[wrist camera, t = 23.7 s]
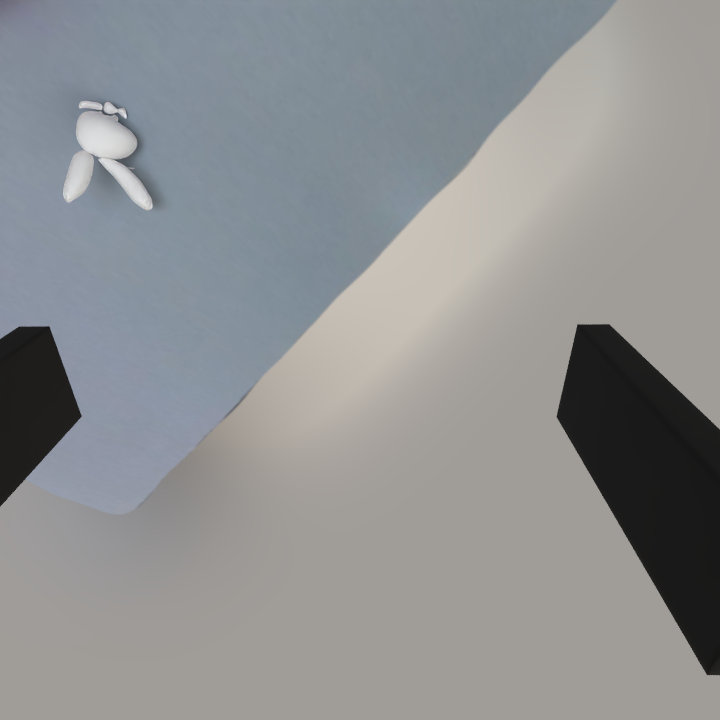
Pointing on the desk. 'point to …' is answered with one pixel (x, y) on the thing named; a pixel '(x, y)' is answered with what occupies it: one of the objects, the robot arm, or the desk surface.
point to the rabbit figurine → (104, 153)
